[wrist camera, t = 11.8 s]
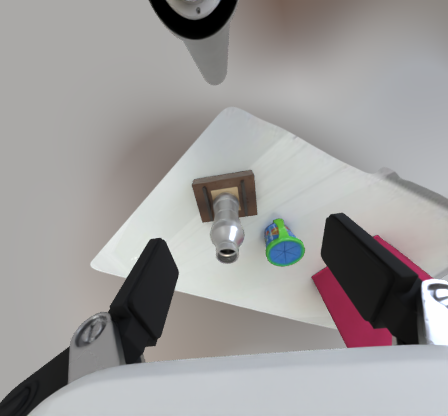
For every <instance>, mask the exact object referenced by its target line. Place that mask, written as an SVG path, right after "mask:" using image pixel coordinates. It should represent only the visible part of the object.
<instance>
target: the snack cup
mask: <svg viewBox="0 0 448 416" xmlns="http://www.w3.org/2000/svg"><path fill="white" fill-rule="evenodd" d="M273 222H274V223H273V224H272V225H270V226H268V227H267V228H266V230H265V243H266V257H267V259H268V261H269V262H270V263H272V264H273V265H276V266H281V267H283V266H289V265H292V264H294V263H296V262H298V261H299V260H300V259H301V258H302V257H303V255H304V253H305V248H304V245H303V242H302V241H301V240H299V239H298V238H296V236H295V235H294V234H293V233H292V232H291V231H290V230H289V229H288V227H287V226H285V225H284V222H283V219H275V220H273Z"/></svg>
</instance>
